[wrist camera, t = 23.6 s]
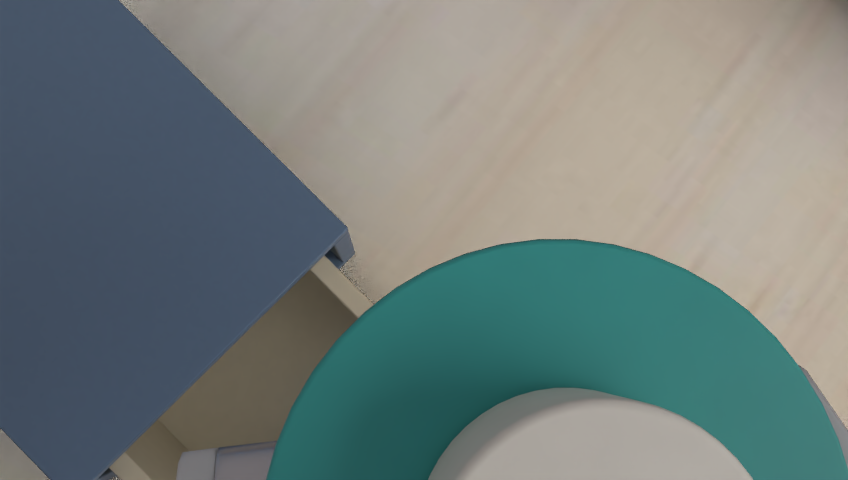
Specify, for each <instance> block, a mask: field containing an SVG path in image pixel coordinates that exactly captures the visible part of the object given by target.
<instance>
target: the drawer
mask: <svg viewBox="0 0 848 480" xmlns="http://www.w3.org/2000/svg"><path fill="white" fill-rule="evenodd" d="M373 305H374V304H373V303H372V302H371V301H370V300H369V299H368V298H367V297H366V296H365V295H364V294H363V293H362V292H361V291H360V290H359V289H358V288H357V287H356V286H355V285H354V284H353V283H352V282H351V281H350V280H349V279H348V278H347V277H346V276H345V275H344V274H343V273H342V272H341V271H340V270H339V269H338V268H337V267H336V266H335V265H334V264H333V263H332V262H331V261H330V260H329V259H328V258H327V257H326V256H325V255H324V256H323V257H322V258H321V259H320V260H319V261H318V262H317V263H316V264H315V265H314V266H313V267H312V268H311V269H310V270H309V271H308V272H307V273H306V274H305V275H304V276H303V277H302V278H301V279H300V280H299V281H298V282H297V283H296V284H295V285H294V286H293V287H292V288H291V289H290V290H289V291H288V292H287V293H286V294H285V295H284V296H283V297H282V298H280V299H279V300H278V301H277V302H276V303H275V304H274V305H273V306H272V307H271V308H270V309H269V310H268V311H267V312H266V313H265V314H264V315H263V316H262V317H261V318H260V319H259V320H258V321H257V322H256V323H255V324H254V325H253V326H252V327H251V328H250V329H249V330H248V331H247V332H246V333H245V334H244V335H243V336H242V337H241V338H240V339H239V340H238V341H237V342H236V343H235V344H234V345H233V346H232V347H231V348H230V349H229V350H228V351H227V352H226V353H225V354H224V355H223V356H222V357H221V358H220V359H219V360H218V361H217V362H216V363H215V364H214V365H213V366H211V367H210V368H209V369H208V370H207V371H206V372H205V373H204V374H203V375H202V376H201V377H200V378H199V379H198V380H197V381H196V382H195V383H194V384H193V385H192V386H191V387H190V388H189V389H188V390H187V391H186V392H185V393H184V394H183V395H182V396H181V397H180V398H179V399H178V400H177V401H176V402H175V403H174V404H173V405H172V406H171V407H170V408H169V409H168V410H167V411H166V412H165V413H164V414H163V415H162V416H161V417H160V418H159V419H158V420H157V421H156V422H155V423H154V424H153V425H152V426H151V427H150V428H149V429H148V430H147V431H146V432H145V433H144V434H143V435H141V436H140V437H139V438H138V439H137V440H136V441H135V442H134V443H133V444H132V445H131V446H130V447H129V448H128V449H127V450H126V451H125V452H124V453H123V454H122V455H121V456H120V457H119V458H118V459H117V460H116V461H115V462H114V463H113V464H112V465H111V466H110V467H109V468H110V469H111V470H112V471H113V472H114V473H115V474H116V475H117V476H118V477H119V479H120V480H176V476H177V468H178V462H179V460H180V457H181V455H182V453H183V452H188V451H195V450H203V449H210V448H218V447H226V446H235V445H244V444H252V443H261V442H270V441H277V440H278V438H279V436H280V433H281V431H282V428H283V426H284V424H285V421H286V419H287V417H288V414H289V412H290V410H291V407H292V405H293V404H294V402H295V400H296V398H297V397H298V395H299V393H300V392H301V390H302V388H303V386H304V385H305V383H306V381H307V380H308V378H309V376H310V374H311V373H312V371H313V370H314V368H315V367H316V366H317V365H318V363H319V362H320V361H321V359H322V358H323V357H324V356H325V354H326V353H327V352H328V350H329V349H330V348H331V346H332V345H333V344H334V343H335V341H336V340H337V339H338V338H339V337H340V336H341V335H342V334H343V333H344V332H345V331H346V330H347V329H348V328H349V327H350V326H351V325H352V324H353V323H354V322H355V321H356V320H357V319H358V318H359V317H360V316H361V315H362V314H363V313H364V312H365V311H366V310H368V309H369V308H370V307H372V306H373Z"/></svg>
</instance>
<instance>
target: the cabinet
mask: <svg viewBox="0 0 848 480" xmlns="http://www.w3.org/2000/svg"><path fill="white" fill-rule="evenodd" d="M354 254H355V251H354V248H353V245H352V242H351V239H350V235H349V232H348V228H347V227H346V226H345V225H344V224H343V223H342V222H341V221H340V220H339V219H338V218H337V217H336V216H335V215H334V214H333V213H332V212H331V211H330V210H329V209H328V208H327V207H326V206H325V205H324V204H323V203H322V202H321V201H320V200H319V199H318V198H317V197H316V196H315V195H314V194H313V193H312V192H311V191H310V190H309V189H308V188H307V187H306V186H305V185H304V184H303V183H302V182H301V181H300V180H299V179H298V178H297V177H296V176H295V175H294V174H293V173H292V172H291V171H290V170H289V169H288V168H287V167H286V166H285V165H284V164H283V163H282V162H281V161H280V160H279V159H278V158H277V157H276V156H275V155H274V154H273V153H272V152H271V151H270V150H269V149H268V148H267V147H266V146H265V145H264V144H263V143H262V142H261V141H260V140H259V139H258V138H257V137H256V136H255V135H254V134H253V133H252V132H251V131H250V130H249V129H248V128H247V127H246V126H245V125H244V124H243V123H242V122H241V121H240V120H239V119H238V118H237V117H236V116H235V115H234V114H233V113H232V112H231V111H230V110H229V109H228V108H226V107H225V106H224V105H223V104H222V103H221V102H220V101H219V100H218V99H217V98H216V97H215V96H214V95H213V94H212V93H211V92H210V91H209V90H208V89H207V88H206V87H205V86H204V85H203V84H202V83H201V82H200V81H199V80H198V79H197V78H196V77H195V76H194V75H193V74H192V73H191V72H190V71H189V70H188V69H187V68H186V67H185V66H184V65H183V64H182V63H181V62H180V61H179V60H178V59H177V58H176V57H175V56H174V55H173V54H172V53H171V52H170V51H169V50H168V49H167V48H166V47H165V46H164V45H163V44H162V43H161V42H160V41H159V40H158V39H157V38H156V37H155V36H154V35H153V34H152V33H151V32H150V31H149V30H148V29H147V28H146V27H145V26H144V25H143V24H142V23H141V22H140V21H139V20H138V19H137V18H136V17H135V16H134V15H133V14H132V13H131V12H130V11H129V10H128V9H127V8H126V7H125V6H124V5H123V4H122V3H121V2H120V1H119V0H0V428H1V429H2V430H3V431H4V432H5V433H6V434H7V435H8V436H9V437H10V438H11V440H12V441H13V442H14V443H15V444H16V445H17V446H18V447H19V448H20V449H21V450H22V451H23V452H24V453H25V454H26V455H27V456H28V457H29V458H30V459H31V460H32V461H33V462H34V463H35V464H36V465H37V466H38V467H39V468H40V469H41V470H42V471H43V472H44V474H45V475H46V476H47V477H48V478H49V479H50V480H110V479H112V478H113V477H115V476H117V475H116V474H115V473H114V472H113V471H112V470H111V469H110V468H109V467H110V466H111V465H112V464H113V463H114V462H115V461H116V460H117V459H118V458H119V457H120V456H121V455H122V454H123V453H124V452H125V451H126V450H127V449H128V448H129V447H130V446H131V445H132V444H133V443H134V442H135V441H136V440H137V439H138V438H139V437H140V436H141V435H143V434H144V433H145V432H146V431H147V430H148V429H149V428H150V427H151V426H152V425H153V424H154V423H155V422H156V421H157V420H158V419H159V418H160V417H161V416H162V415H163V414H164V413H165V412H166V411H167V410H168V409H169V408H170V407H171V406H172V405H173V404H174V403H175V402H176V401H177V400H178V399H179V398H180V397H181V396H182V395H183V394H184V393H185V392H186V391H187V390H188V389H189V388H190V387H191V386H192V385H193V384H194V383H195V382H196V381H197V380H198V379H199V378H200V377H201V376H202V375H203V374H204V373H205V372H206V371H207V370H208V369H209V368H210V367H211V366H213V365H214V364H215V363H216V362H217V361H218V360H219V359H220V358H221V357H222V356H223V355H224V354H225V353H226V352H227V351H228V350H229V349H230V348H231V347H232V346H233V345H234V344H235V343H236V342H237V341H238V340H239V339H240V338H241V337H242V336H243V335H244V334H245V333H246V332H247V331H248V330H249V329H250V328H251V327H252V326H253V325H254V324H255V323H256V322H257V321H258V320H259V319H260V318H261V317H262V316H263V315H264V314H265V313H266V312H267V311H268V310H269V309H270V308H271V307H272V306H273V305H274V304H275V303H276V302H277V301H278V300H279V299H280V298H282V297H283V296H284V295H285V294H286V293H287V292H288V291H289V290H290V289H291V288H292V287H293V286H294V285H295V284H296V283H297V282H298V281H299V280H300V279H301V278H302V277H303V276H304V275H305V274H306V273H307V272H308V271H309V270H310V269H311V268H312V267H313V266H314V265H315V264H316V263H317V262H318V261H319V260H320V259H321V258H322V257H323V256H324V255H325V256H326V257H327V258H328V259H329V260H330V261H331V262H332V263H333V264H334V265H335V266H336V267H337V268H338V269H340V268H341V267H342V266H343V265H344V264H345V263H346V262H347V261H348V260H349V259H350V258H351V257H352V256H353V255H354Z"/></svg>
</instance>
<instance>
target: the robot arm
mask: <svg viewBox="0 0 848 480" xmlns="http://www.w3.org/2000/svg"><path fill="white" fill-rule="evenodd" d="M798 366H799V365H798ZM799 367H800V368H801V370H802V371H803V373H804V375H805V376H806V378H807V379H808V381H809V383H810V384H811V386H812V388H813V389H814V391H815V392H816V394H817V396H818V397H819V399H820V401H821V402H822V404H823V406H824V409H825V411H826V413H827V415H828V417H829V419H830V422H831V424H832V426H833V428H834V430H835V433H836V435H837V437H838V439H839V442H840V446H841V449H842V452H843V455H844V458H845V461H846V464H847V468H848V430H847V428H846V427H845V426H844V424H843V423H842V421H841V420H840V418H839V417H838V415H837V414H836V412H835V411H834V410H833V408H832V407H831V405H830V404H829V402H828V401H827V399H826V398H825V397H824V395H823V394H822V392H821V391H820V389H819V388H818V386H817V385H816V384H815V382H814V381H813V379H812V378H811V376H810V375H809V373H808V372H807V370H805V369H804V368H802V367H801V366H799ZM276 443H277V441H270V442H261V443H252V444H244V445H235V446H226V447H218V448H210V449H203V450H195V451H188V452H183V453H182V455H181V457H180V460H179V462H178V468H177V476H176V480H266V478H267V474H268V470H269V467H270V463H271V460H272V456H273V453H274V449H275V445H276Z"/></svg>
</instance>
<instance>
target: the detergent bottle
mask: <svg viewBox="0 0 848 480" xmlns="http://www.w3.org/2000/svg"><path fill="white" fill-rule="evenodd" d="M266 480H848V468H847V464H846V461H845V458H844V455H843V452H842V449H841V446H840V442H839V439H838V437H837V435H836V433H835V430H834V428H833V426H832V424H831V422H830V419H829V417H828V415H827V413H826V411H825V409H824V406H823V404H822V402H821V401H820V399H819V397H818V396H817V394H816V392H815V391H814V389H813V388H812V386H811V384H810V383H809V381H808V379H807V378H806V376H805V375H804V373H803V371H802V370H801V368H800V367H799V366H798V365H797V363H796V362H795V361H794V360H793V358H792V357H791V356H790V355H789V353H788V352H787V351H786V350H785V348H784V347H783V346H782V344H781V343H780V342H779V341H778V339H777V338H776V337H775V336H774V335H773V334H772V333H771V332H770V331H769V330H768V329H767V328H766V327H765V326H764V325H763V324H761V323H760V322H759V321H758V320H757V319H756V318H755V317H754V316H753V315H752V314H751V313H750V312H749V311H748V310H747V309H745V308H744V307H743V306H741V305H740V304H739V303H737V302H736V301H735V300H734V299H732V298H731V297H730V296H728V295H727V294H726V293H724V292H723V291H722V290H720V289H719V288H718V287H716V286H714V285H712V284H711V283H709V282H707V281H705V280H704V279H702V278H700V277H698V276H697V275H695V274H693V273H691V272H690V271H688V270H686V269H684V268H682V267H679V266H677V265H675V264H672V263H670V262H667V261H665V260H663V259H660V258H658V257H655V256H653V255H650V254H647V253H643V252H640V251H636V250H632V249H629V248H625V247H621V246H617V245H614V244H606V243H599V242H592V241H584V240H577V239H537V240H530V241H522V242H514V243H507V244H500V245H496V246H493V247H489V248H485V249H481V250H478V251H474V252H470V253H466V254H463V255H461V256H458V257H456V258H454V259H451V260H449V261H446V262H444V263H442V264H439V265H437V266H434V267H432V268H429V269H428V270H426V271H424V272H422V273H421V274H419V275H417V276H415V277H414V278H412V279H410V280H409V281H407V282H405V283H403V284H402V285H400V286H398V287H396V288H395V289H394V290H392V291H391V292H390V293H388V294H387V295H386V296H385V297H383V298H382V299H381V300H379V301H378V302H377V303H375V304H374V305H373V306H372V307H370V308H369V309H368V310H366V311H365V312H364V313H363V314H362V315H361V316H360V317H359V318H358V319H357V320H356V321H355V322H354V323H353V324H352V325H351V326H350V327H349V328H348V329H347V330H346V331H345V332H344V333H343V334H342V335H341V336H340V337H339V338H338V339H337V340H336V341H335V343H334V344H333V345H332V346H331V348H330V349H329V350H328V352H327V353H326V354H325V356H324V357H323V358H322V359H321V361H320V362H319V363H318V365H317V366H316V367H315V368H314V370H313V371H312V373H311V374H310V376H309V378H308V380H307V381H306V383H305V385H304V386H303V388H302V390H301V392H300V393H299V395H298V397H297V398H296V400H295V402H294V404H293V405H292V407H291V410H290V412H289V414H288V417H287V419H286V421H285V424H284V426H283V428H282V431H281V433H280V436H279V438H278V440H277V443H276V445H275V449H274V453H273V456H272V460H271V463H270V467H269V470H268V474H267V478H266Z"/></svg>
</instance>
